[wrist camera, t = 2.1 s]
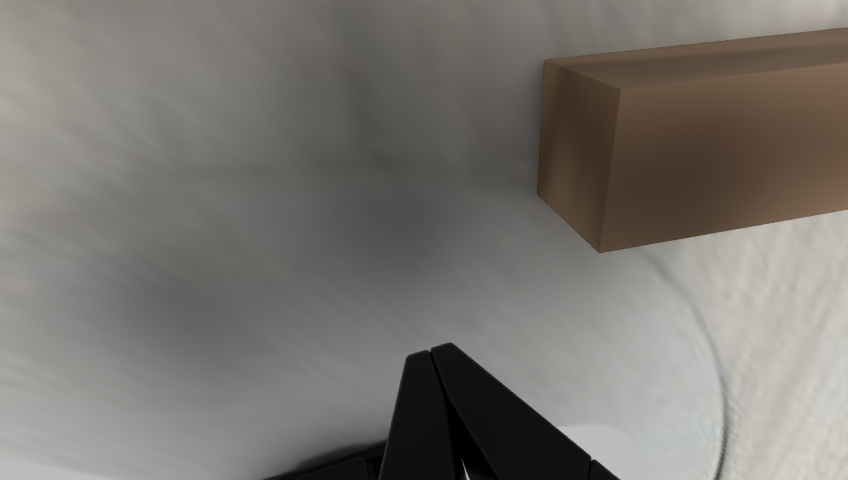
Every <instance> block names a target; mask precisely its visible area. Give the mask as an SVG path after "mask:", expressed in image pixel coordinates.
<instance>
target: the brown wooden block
mask: <svg viewBox="0 0 848 480" xmlns="http://www.w3.org/2000/svg"><path fill="white" fill-rule="evenodd" d="M537 194H538V195H539V196H540V197H541V198H542V199H543V200H544V201H545V202H546V203H547V204H548V205H550V206H551V207H552V208H553V209H554V210H555V211H556V212H557V213H558V214H559V215H560V216H561V217H562V218H563V219H564V220H565V221H566V222H567V223H568V224H569V225H570V226H571V227H572V228H573V229H574V230H576V231H577V232H578V233H579V234H580V235H581V236H582V237H583V238H584V239H585V240H586V241H587V242H588V243H589V244H590V245H591V246H592V247H593V248H594V249H595V250H596V251H597V252H598V253H603V252H609V251H614V250H620V249H626V248H632V247H637V246H643V245H649V244H654V243H660V242H666V241H671V240H677V239H683V238H689V237H694V236H700V235H706V234H711V233H717V232H723V231H728V230H734V229H740V228H746V227H751V226H757V225H763V224H768V223H774V222H780V221H785V220H791V219H797V218H803V217H808V216H814V215H820V214H825V213H831V212H837V211H842V210H848V28H838V29H829V30H820V31H810V32H801V33H792V34H782V35H773V36H764V37H754V38H745V39H735V40H726V41H717V42H707V43H698V44H689V45H679V46H670V47H661V48H651V49H642V50H632V51H623V52H614V53H604V54H595V55H586V56H576V57H567V58H558V59H548V60H545V67H544V85H543V102H542V120H541V137H540V154H539V172H538V189H537Z"/></svg>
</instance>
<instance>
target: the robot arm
mask: <svg viewBox="0 0 848 480" xmlns="http://www.w3.org/2000/svg"><path fill="white" fill-rule="evenodd" d="M463 463H464V465H463ZM464 466H465V469H466V472H467V474H468V476H469V479H470V480H620V479H619V478H617V477H616V476H615V475H613V474H612V473H611V472H610V471H609V470H607V469H606V468H605V467H604V466H603V465H601V464H600V463H599V462H598V461H597V460H591V456H590V455H589V454H588V453H586V452H585V451H584V450H583V449H582V448H580V447H579V446H578V445H577V444H575V443H574V442H573V441H572V440H571V439H569V438H568V437H567V436H566V435H564V434H563V433H562V432H561V431H560V430H558V429H557V428H556V427H555V426H553V425H552V424H551V423H550V422H549V421H547V420H546V419H545V418H544V417H542V416H541V415H540V414H539V413H538V412H536V411H535V410H534V409H533V408H531V407H530V406H529V405H528V404H527V403H525V402H524V401H523V400H522V399H520V398H519V397H518V396H517V395H516V394H514V393H513V392H512V391H511V390H509V389H508V388H507V387H506V386H505V385H503V384H502V383H501V382H500V381H498V380H497V379H496V378H495V377H494V376H492V375H491V374H490V373H489V372H487V371H486V370H485V369H484V368H483V367H481V366H480V365H479V364H478V363H476V362H475V361H474V360H473V359H472V358H470V357H469V356H468V355H467V354H465V353H464V352H463V351H462V350H461V349H459V348H458V347H457V346H456V345H454V344H453V343H446V344H442V345H439V346H436V347H433V348H431V350H430V352H429V351H428V350H423V351H420V352H417V353H414V354H410V355H408V356H407V358H406V360H405V364H404V369H403V373H402V378H401V382H400V386H399V391H398V395H397V400H396V404H395V409H394V413H393V417H392V422H391V426H390V431H389V435H388V440H387V444H385V445H382V446H379V447H376V448H373V449H370V450H367V451H364V452H361V453H358V454H354V455H351V456H348V457H345V458H342V459H339V460H336V461H333V462H330V463H327V464H324V465H321V466H318V467H315V468H311V469H308V470H305V471H302V472H299V473H296V474H293V475H290V476H287V477H284V478H281V479H278V480H467V478H466V473H465V469H464Z"/></svg>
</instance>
